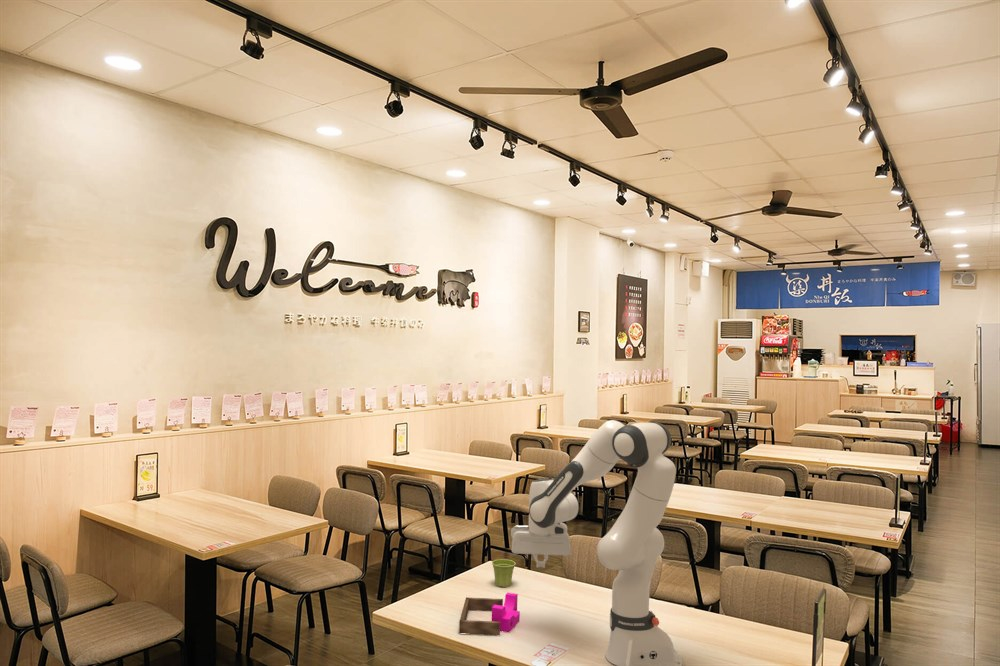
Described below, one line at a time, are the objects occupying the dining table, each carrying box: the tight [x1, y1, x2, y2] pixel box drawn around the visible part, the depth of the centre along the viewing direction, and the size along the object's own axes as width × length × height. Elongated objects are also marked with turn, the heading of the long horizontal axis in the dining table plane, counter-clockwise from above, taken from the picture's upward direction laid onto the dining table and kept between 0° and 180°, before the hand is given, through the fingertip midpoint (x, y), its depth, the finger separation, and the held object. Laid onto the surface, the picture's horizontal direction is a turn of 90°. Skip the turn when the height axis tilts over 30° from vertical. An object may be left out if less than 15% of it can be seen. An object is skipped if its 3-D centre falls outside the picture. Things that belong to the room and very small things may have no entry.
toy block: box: [491, 592, 521, 633], centre depth 227 cm, size 15×6×8 cm, turn 159°
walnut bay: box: [458, 597, 504, 636], centre depth 227 cm, size 13×21×4 cm, turn 177°
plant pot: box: [491, 558, 517, 588], centre depth 264 cm, size 9×9×9 cm
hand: (540, 567), depth 226 cm, fingers closed
